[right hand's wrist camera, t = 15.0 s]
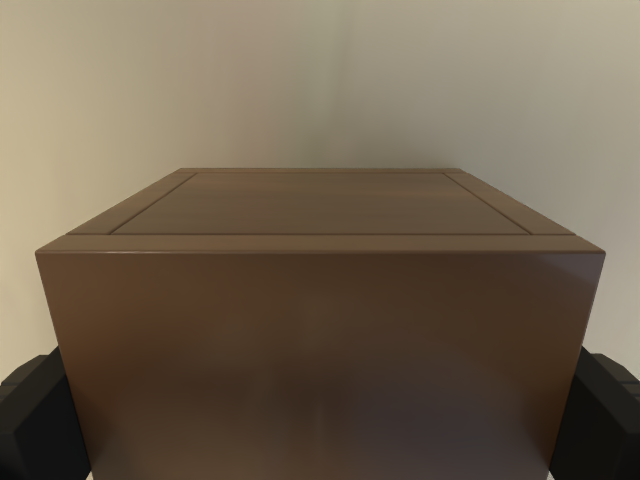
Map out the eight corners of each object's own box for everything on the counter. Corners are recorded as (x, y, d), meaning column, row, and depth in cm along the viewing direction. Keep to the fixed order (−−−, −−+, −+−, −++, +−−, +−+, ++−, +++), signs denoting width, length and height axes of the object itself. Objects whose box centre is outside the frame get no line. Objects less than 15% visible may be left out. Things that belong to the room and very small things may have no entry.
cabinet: (418, 520, 22) (473, 761, 14) (220, 520, 22) (165, 761, 14) (461, 168, 15) (608, 251, 8) (179, 167, 15) (32, 250, 8)
